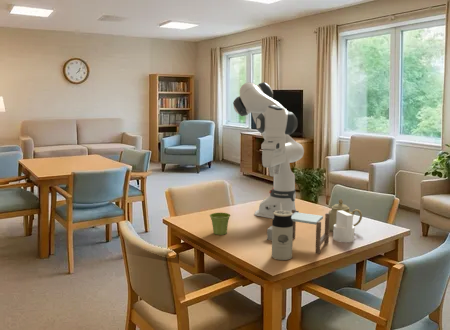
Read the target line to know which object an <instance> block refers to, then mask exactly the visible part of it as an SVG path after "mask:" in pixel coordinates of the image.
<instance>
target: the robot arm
mask: <svg viewBox="0 0 450 330" xmlns="http://www.w3.org/2000/svg"><path fill="white" fill-rule="evenodd" d="M232 103H233V109H234V112H235V113H236V114H237V115H239V116H240V117H245V116H248V115H249V114H251V116H252V119H253V121H254V124H255V128H256V130H257V131H258V132H259V134H261V136H262V138H263V139H264V140H263V142H262V143H261V146H260V147H261V148H260V149H262V150H261V154H262V155H261V162H262V164H261V165H262V166H263V168H268V172H269V176H270V177H273V187H272V188H271V189H270V190H269V193H268V194H269V196H267V197H266V198H265V199H263V200H262V201H261V202H260V203H259V207H258V209H257V210H255V212H254V216H258V217H262V218H268V219H272V220H273V218H274V214H273V212H275V211H281V210H283V211H290V212H292V209H295V210H296V211H297V209H296V202H295V201H296V197H297V196H296V193H297V192H296V188H295V187H296V186H295V185H296V184H295V183H296V176H295V173H294V172H293V171H292V169H291V165H290V163H295V162H297V161H299V160H301V159H302V158H303V157H304V153H305V149H304V146H303V145H302V144H301V143H300V142H298V141H296V140H294V138H292V136H290V135H292V134H293V133H295V131H296V130H297V128H298V125H299V124H298V117H296V115H295V114H294V113H293V112H292V111H289V110H287V108H285V107H284V106H283V105H282V104H281V103H280V102H279V101H277V100H276V99H274V91H273V89H272V87H271V86H270V85H269V84H268V83H267V82H260V83H258V84H257V85H256V84H255V83H253V82H245V83H243V84H242V85H241V87H240V89H239V96H237V97H236V98H235V99H234V100H233V102H232Z"/></svg>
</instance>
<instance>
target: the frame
mask: <svg viewBox="0 0 450 330" xmlns="http://www.w3.org/2000/svg"><path fill="white" fill-rule="evenodd" d="M295 212H298V213H300V212H299V210H297V209H296V210H295V209H292V213H295ZM329 219H330V214H329V212H326V213H325V214H324V233H323V234H321V233H322V222H321V221H317V222H316V225H315V252H314V253H315V254H317V255H320V254H321V246H322V245H323V243H324V244H329V242H330V230H329ZM296 223H297V222H295V221H293V240H294V239H296V226H297V225H296Z"/></svg>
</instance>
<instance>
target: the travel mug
mask: <svg viewBox="0 0 450 330" xmlns="http://www.w3.org/2000/svg"><path fill="white" fill-rule="evenodd" d="M273 214H274V218H273V219H272V221H271V222H272V223H271V226H272V240H271V257H272V258H273V259H275V260H276V261H277V260H279V261H288V260H291V259H292V258H293V240H294V239H293V220H292V218H291V217H292V214H293V213H292V212H290V211H283V210H281V211H275V212H273Z"/></svg>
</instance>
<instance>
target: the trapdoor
mask: <svg viewBox="0 0 450 330" xmlns="http://www.w3.org/2000/svg"><path fill="white" fill-rule="evenodd" d="M291 218H292V220H293V221H295V222H296V223H301V224H307V225H308V224H309V225H315V226H316V222H317V221H319V222H321V221H322V220H323V218H324V215H319V214H313V213H312V214H311V213H304V212H299V213H298V212H295V213H293V214H292V217H291Z"/></svg>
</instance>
